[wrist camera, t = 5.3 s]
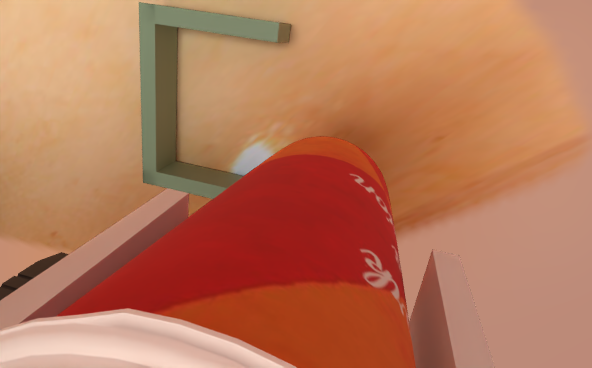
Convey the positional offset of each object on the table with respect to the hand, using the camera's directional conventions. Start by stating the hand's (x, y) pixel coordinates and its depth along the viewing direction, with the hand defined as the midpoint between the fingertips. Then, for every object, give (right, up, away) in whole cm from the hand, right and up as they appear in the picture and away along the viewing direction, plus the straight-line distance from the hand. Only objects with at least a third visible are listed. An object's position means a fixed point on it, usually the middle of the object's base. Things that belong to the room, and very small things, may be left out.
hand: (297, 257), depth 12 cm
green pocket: (-6, +9, +18) cm, 21 cm away
